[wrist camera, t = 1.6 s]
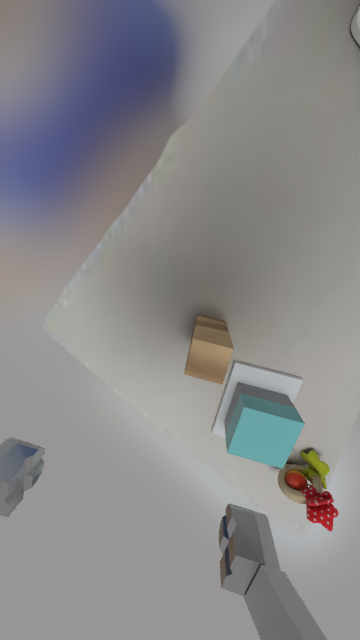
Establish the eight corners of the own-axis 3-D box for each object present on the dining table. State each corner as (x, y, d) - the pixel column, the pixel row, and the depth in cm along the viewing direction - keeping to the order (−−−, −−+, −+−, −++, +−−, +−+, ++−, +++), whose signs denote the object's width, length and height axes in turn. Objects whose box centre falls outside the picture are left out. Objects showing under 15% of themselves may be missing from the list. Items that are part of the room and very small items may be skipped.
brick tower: (234, 360, 38) (241, 384, 31) (301, 377, 38) (324, 406, 30) (211, 429, 43) (212, 466, 35) (270, 446, 42) (284, 487, 35)
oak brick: (197, 314, 37) (193, 338, 26) (225, 322, 37) (233, 348, 25) (191, 340, 39) (183, 374, 27) (217, 347, 38) (222, 384, 27)
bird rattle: (286, 467, 46) (337, 475, 40) (281, 526, 37) (345, 547, 32) (277, 444, 44) (328, 450, 39) (269, 499, 36) (334, 516, 30)
